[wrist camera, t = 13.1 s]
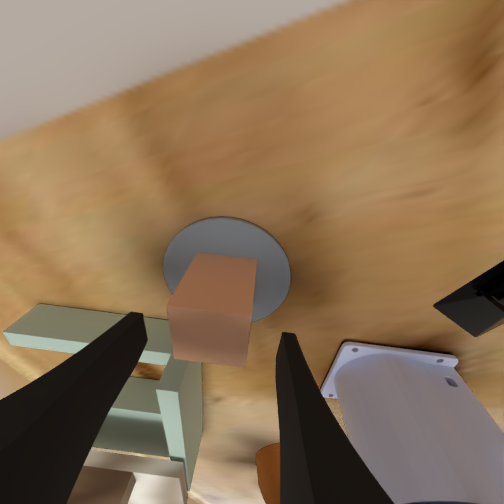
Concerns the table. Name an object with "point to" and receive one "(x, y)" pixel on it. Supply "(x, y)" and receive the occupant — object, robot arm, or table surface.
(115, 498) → the lid
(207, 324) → the block
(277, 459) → the decorative plant
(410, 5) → the table surface
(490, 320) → the black small block
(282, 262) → the mat
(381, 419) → the robot arm
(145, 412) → the sage green u-shaped tray
